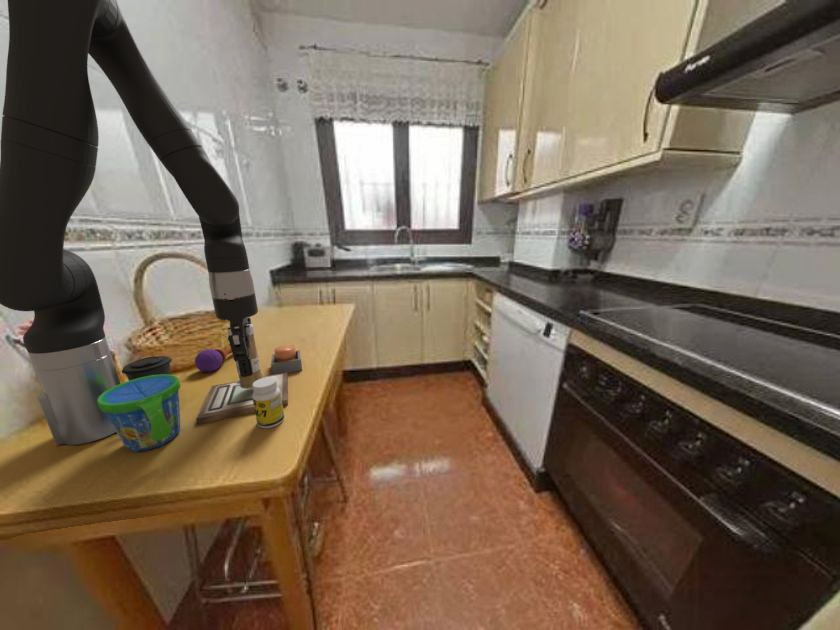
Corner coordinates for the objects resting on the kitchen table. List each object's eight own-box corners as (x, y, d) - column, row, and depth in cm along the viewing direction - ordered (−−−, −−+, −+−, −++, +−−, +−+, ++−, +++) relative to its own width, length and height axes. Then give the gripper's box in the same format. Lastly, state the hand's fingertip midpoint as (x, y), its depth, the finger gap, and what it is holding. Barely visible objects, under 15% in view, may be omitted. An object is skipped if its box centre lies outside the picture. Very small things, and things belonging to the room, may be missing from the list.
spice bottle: (266, 384, 68) (255, 325, 65) (243, 391, 65) (231, 330, 62) (259, 377, 72) (248, 321, 68) (237, 384, 69) (225, 326, 65)
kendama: (258, 335, 98) (211, 355, 79) (257, 352, 99) (210, 377, 80) (240, 331, 98) (189, 351, 79) (239, 349, 100) (188, 373, 80)
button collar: (272, 375, 79) (270, 364, 78) (273, 364, 85) (272, 354, 84) (302, 370, 81) (300, 359, 81) (301, 360, 88) (299, 350, 87)
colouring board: (197, 424, 60) (195, 414, 59) (213, 390, 72) (211, 382, 72) (288, 404, 66) (286, 396, 65) (287, 376, 78) (286, 369, 77)
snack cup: (201, 443, 54) (187, 391, 51) (118, 478, 47) (97, 419, 44) (182, 410, 65) (170, 364, 62) (112, 434, 57) (95, 384, 55)
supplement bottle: (251, 425, 59) (244, 384, 57) (273, 412, 63) (266, 374, 61) (268, 432, 57) (261, 390, 55) (290, 418, 61) (283, 378, 59)
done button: (276, 367, 80) (274, 353, 79) (276, 360, 84) (274, 347, 83) (297, 364, 82) (295, 350, 81) (296, 357, 86) (294, 344, 85)
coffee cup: (154, 415, 63) (141, 369, 60) (123, 411, 65) (108, 367, 62) (190, 394, 71) (180, 353, 68) (161, 391, 72) (150, 351, 70)
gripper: (218, 288, 68) (233, 361, 73) (203, 302, 55) (222, 389, 60) (257, 285, 71) (269, 356, 75) (251, 298, 58) (265, 381, 63)
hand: (248, 370), depth 67 cm, fingers closed on spice bottle, 4 cm apart
